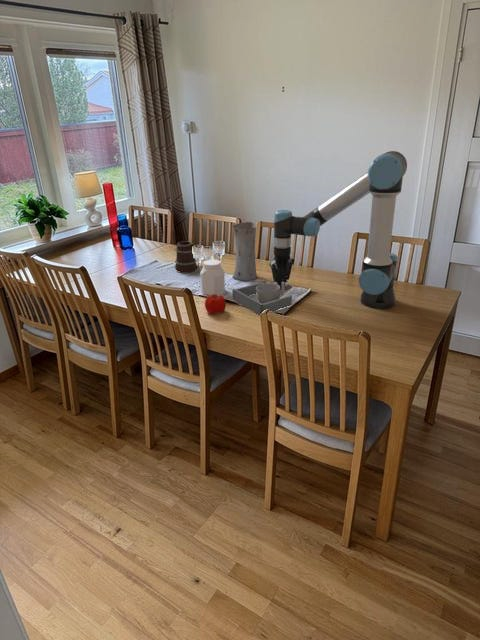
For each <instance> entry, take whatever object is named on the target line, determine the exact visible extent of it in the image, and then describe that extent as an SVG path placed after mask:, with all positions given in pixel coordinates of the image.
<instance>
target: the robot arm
mask: <svg viewBox="0 0 480 640" xmlns="http://www.w3.org/2000/svg"><path fill="white" fill-rule="evenodd" d="M407 168H408V161H407V159H406V156H404V154H402V153H401V152H399V151H397V150H396V151H395V150H392V151H391V150H390V151H387V152H385V153H382V154H380V155H378V156H377V157H375V158H374V160H373V161H372V162H371V164H370V166H369V167H368V169H367V172H365V173H364V174H362V175H361V176H360V177H358V178H357V179H356V180H354V181H353V182H351V183H350V184H348V185H347V186H346V187H344V188H343V189H341V190H340V191H338V192H337V193H335V194H334V195H333V196H331V197H330V198H329V199H327V200H325V202H322V203H321V204H320V205H319V206H317V207H316V208H314V209H313V210H312V211H310V212H308V213H307V214H306V215H304V216H294V215H293V213H292V211H291V210H288V209H279V210H276V211H275V213H274V221H273V227H274V228H273V245H274V246H273V255H274V258H273V261H272V262H270V263H269V267H270V269H271V274H272V278H273V282H274V283H276V284H278V285H279V286H280V297H285V288H286V283H287V282H288V281H289V280H290V276H291V273H292V268H293V263H294V262H295V259H294V258H292V257H291V253H292V251H291V249H292V246H291V245H292V235H294V236H295V235H297V236H305V237H316V236H318V234H319V232H320V227H322V226H323V225H324V224H325V223H327V222H328V221H330V220H331V219H333V218H335V217H336V216H337V215H339V214H340V213H341V212H343V211H345V210H346V209H348V208H350V207H351V206H352V205H354V204H356V203H357V202H359V201H360V200H361V199H363V198H364V197H366V196H367V195H368V194H371V196H372V198H371V199H372V201H371V208H370V210H371V211H370V218H369V219H370V220H369V229H368V230H369V231H368V233H369V234H368V241H367V243H368V244H367V254H366V256H365V257H363V259H362V267H361V273H360V274H359V278H358V285H359V287H360V288H361V290H362V293H361V294H360V303H361V305H364V306H365V307H368V308H372V309H379V310H382V309H391V308H394V306H395V305H396V295H395V289H394V285H395V279H396V273H397V271H396V270H397V265H398V264H397V263H398V255H397V254H395V253H394V252H393V253H392V252H391V244H392V237H393V228H394V219H395V209H396V201H397V197H398V195H399V194H400V193H402V186H403V180H404V176H405V174H406V172H407Z"/></svg>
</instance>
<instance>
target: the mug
mask: <svg viewBox="0 0 480 640" xmlns="http://www.w3.org/2000/svg"><path fill="white" fill-rule="evenodd" d="M194 245H195V244H194V243H193V242H192V241H188V240H184V241H183V240H182V241H179V242H177V243H176V248H175V249H174V251H175V252H176V258H175V261H174V262H175V266H174V268H175V269H176V270H177V271H180V272H179V273H182V272H188V273H193V272H196V271H197V270H198V264H197V263H196V262H197V259H196V258H195V259H196V260H195V259H194V258H193V254H192V246H194ZM175 269H174V270H175ZM176 270H175V271H176ZM195 270H196V271H195ZM177 271H176V272H177ZM192 271H193V272H192Z"/></svg>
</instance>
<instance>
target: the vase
mask: <svg viewBox="0 0 480 640" xmlns="http://www.w3.org/2000/svg"><path fill="white" fill-rule="evenodd" d="M232 229H233V235H234V241H235V243H234V244H235V267H234V271H233V274H232V279H234V280H237V281H241V282H252V281H255V280H257V279H258V273H257V267H256V266H257V265H256V264H257V263H256V235H257V234H256V233H257V226H256V225H255V223H253V222H251V221H246V222H239V223H236V224H234V225H232Z"/></svg>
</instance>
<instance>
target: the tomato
mask: <svg viewBox="0 0 480 640" xmlns="http://www.w3.org/2000/svg"><path fill="white" fill-rule="evenodd" d="M226 306H227V301H226V299H225V297H224V295H223V294H222V295H219V296H217V295H216V294H212V295H208V296H207V297H206V298H205V300H204V309H206V312H208V313H209V314H210V315H211V314H212V315H216V314H221V313H224V312H225V310H226Z"/></svg>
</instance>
